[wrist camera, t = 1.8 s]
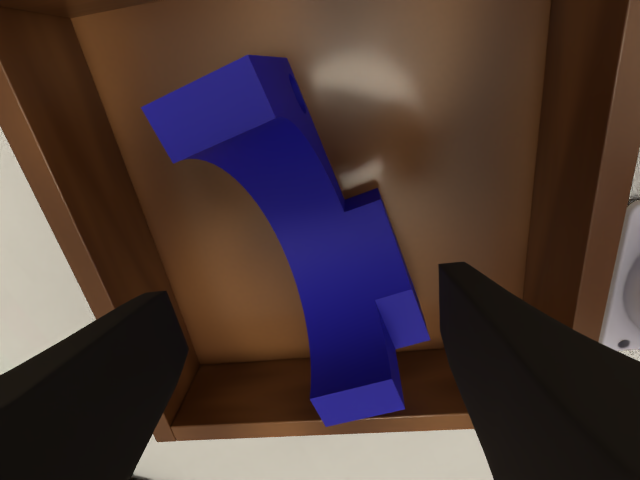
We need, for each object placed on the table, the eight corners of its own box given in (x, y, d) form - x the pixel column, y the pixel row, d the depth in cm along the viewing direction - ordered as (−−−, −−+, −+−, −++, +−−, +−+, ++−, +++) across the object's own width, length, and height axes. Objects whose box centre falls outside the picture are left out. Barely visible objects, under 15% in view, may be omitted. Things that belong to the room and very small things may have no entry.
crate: (586, -119, 12) (718, -220, 8) (532, 348, 20) (581, 425, 15) (46, -6, 14) (-81, -35, 10) (192, 370, 22) (156, 442, 18)
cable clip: (418, 298, 18) (447, 399, 13) (332, 323, 19) (325, 427, 14) (323, 40, 13) (307, 24, 8) (217, 90, 14) (140, 107, 9)
